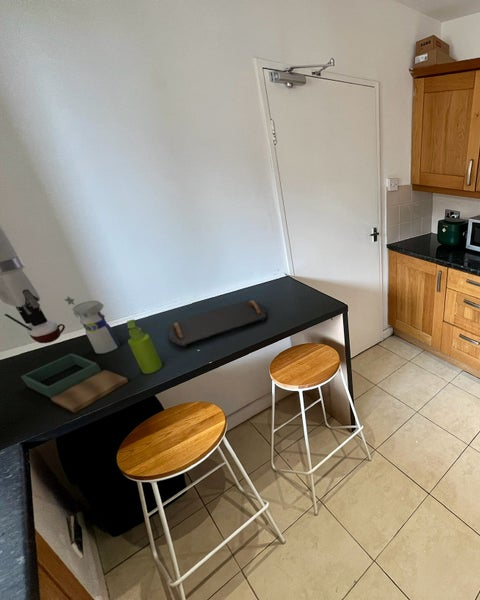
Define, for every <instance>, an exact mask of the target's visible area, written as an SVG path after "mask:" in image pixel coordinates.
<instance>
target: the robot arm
mask: <svg viewBox="0 0 480 600" xmlns="http://www.w3.org/2000/svg"><path fill="white" fill-rule="evenodd" d="M25 268H26V266H25V264H24V263H23V261H22V258H21V257H20V256H19V254H18V252H17V250H16V248H15V246H14V245H13V243H12V242H11V240H10V238H9V237H8V234H7V233H6V231H5V230H4V228H3V225H1V224H0V301H1V302H2V303H3V304H7V305H9V306H14V307H15V310H16V311H17V312H18V313H19V315H20V317H21V319H22V320H23V321H24V323H25V325H29V324H30V323H31V324H32V325H33V326H37V325H40V324H43V323H46V322H47V321H48V319H47V317H46V315H45V314H44V311H42V308H41V304H40V303H39V302H40V301H41V297H40V295H39V293H38V291H37V290H36V289H37V288H35V287H34V284H33V283H32V281H31V280H30V278H29V277H28V275H27V274H26V272H25V271H24V269H25Z"/></svg>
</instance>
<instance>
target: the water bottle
mask: <svg viewBox="0 0 480 600" xmlns="http://www.w3.org/2000/svg"><path fill="white" fill-rule="evenodd" d="M64 301H65V302H67V303H68V305H69V306H70V305H74V306H73V307H72V311H73V314H74V316H75V318H78V319H79V318H80V321H79V322H80V323H79V324H81V325H83V328H84V329H85V335H86V336H87V339H88V340H89V342H90V344H91V347H92V349H93V350H94V353H95V354H107V353H109V352H113V351H114V350H116V349H118V348H119V347H120V345H121V343H120V342H119V339H118V338H117V336H116V334H115V333H114V331H113V329H112V327H111V326H110V324H109V323H107V321H106V319H105V318H106V317H105V314H103V313H101V311H102V309H103V308H104V306H105V305H104V304H103V303H102V302H100V301H99V300H88V301H83V302H81V303H78V304H75V302H74V301H75V298H71V297H70V296H67V298H65V299H64Z"/></svg>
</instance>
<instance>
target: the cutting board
mask: <svg viewBox="0 0 480 600" xmlns="http://www.w3.org/2000/svg"><path fill="white" fill-rule="evenodd" d="M101 371H102V372H100V373H98V374H96V375H94V376H92V377H91V378H89V379H87V380H85V381H83V382H81V383H79V384H77V385H75V386H73V387H72V388H70V389H68V390H66V391H64V392H62V393H60V394H58V395H56V396H54V397H53V398H50V400H51V402H52V403H53V404H55V405H58V406H59V407H62V408H64V409H66V410H68V411H70V412H72V413H74V414H76V413H78V412H79V411H80V410H82V409H85V408H86V407H87V406H89V405H91V404H92V403H94V402H95V401H98V400H99V399H101V398H103V397H104V396H107V394H110V393H111V392H113V391H114V390H116V389H119V388H121V386H124V385H125V384H127V383H128V382H129V380H128V378H127V377H125V376H122V375H119V374H117V373H115V372H112V371H110V370H107V369H104V370H101Z"/></svg>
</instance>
